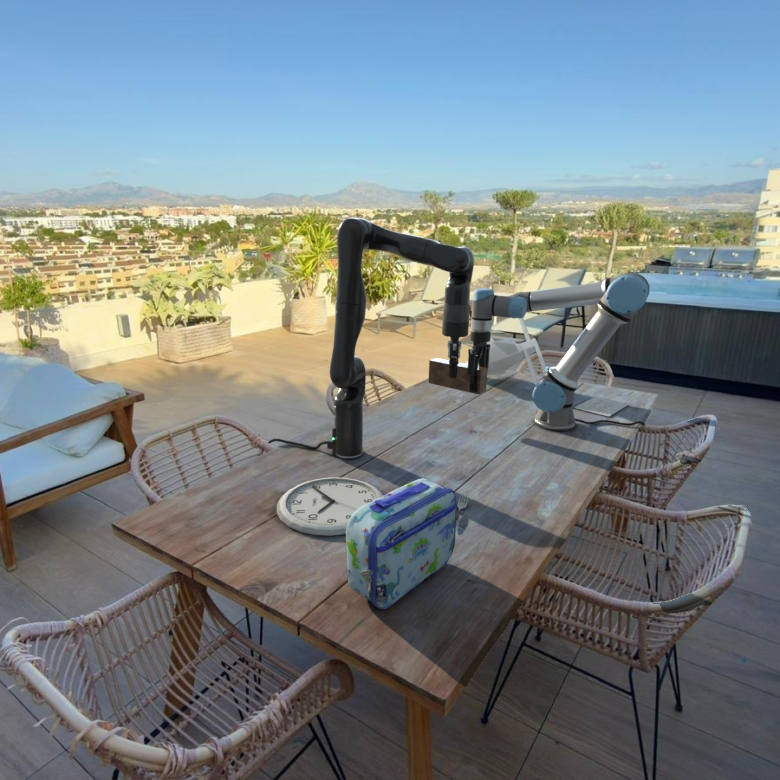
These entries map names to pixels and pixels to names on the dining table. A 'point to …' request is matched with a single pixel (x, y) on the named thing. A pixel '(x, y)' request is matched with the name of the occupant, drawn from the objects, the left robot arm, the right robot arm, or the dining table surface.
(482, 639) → the dining table surface
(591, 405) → the grey wooden board
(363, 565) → the lunch box
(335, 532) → the wall clock
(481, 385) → the bar
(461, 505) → the fork
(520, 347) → the white plastic object
